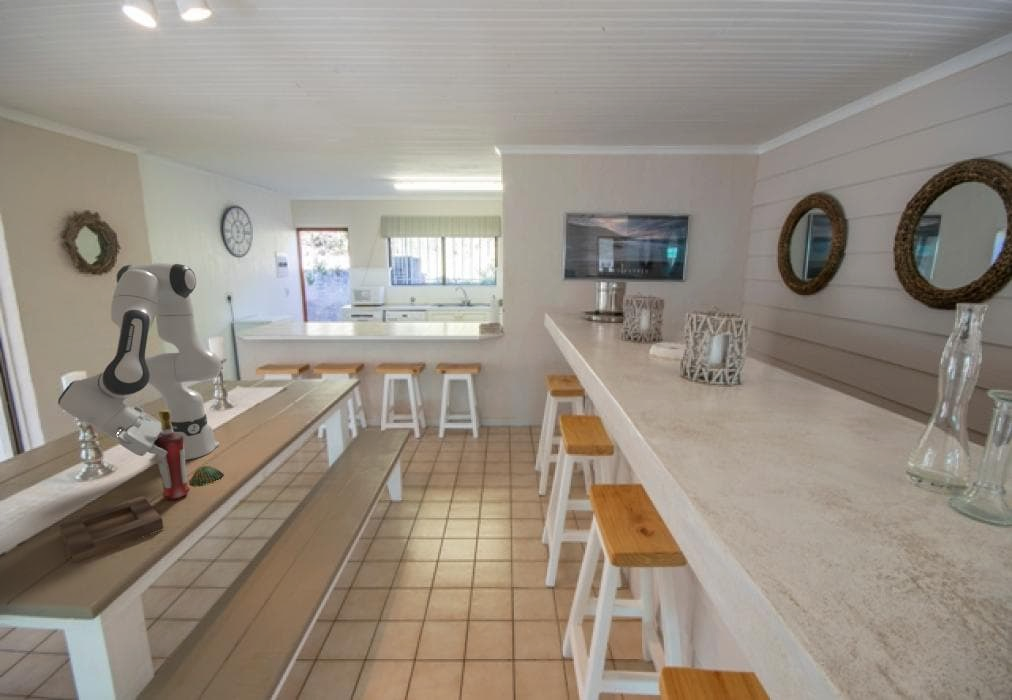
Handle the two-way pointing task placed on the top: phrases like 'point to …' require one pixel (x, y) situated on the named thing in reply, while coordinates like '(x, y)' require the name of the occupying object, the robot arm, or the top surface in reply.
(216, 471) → the seashell
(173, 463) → the liquor
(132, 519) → the plinth
